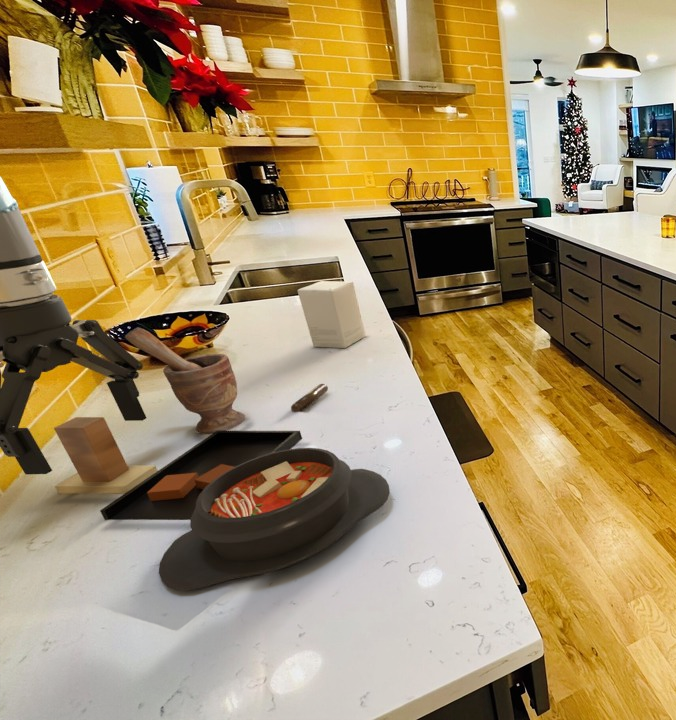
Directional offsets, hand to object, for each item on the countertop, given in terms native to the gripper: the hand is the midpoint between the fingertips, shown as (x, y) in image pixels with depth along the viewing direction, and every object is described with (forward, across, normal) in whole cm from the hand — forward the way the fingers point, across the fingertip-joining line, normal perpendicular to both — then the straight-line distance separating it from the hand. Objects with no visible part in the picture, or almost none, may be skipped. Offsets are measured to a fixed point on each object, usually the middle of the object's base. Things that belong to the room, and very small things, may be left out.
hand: (91, 444), depth 71 cm
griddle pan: (+8, +12, -14) cm, 20 cm away
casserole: (+8, -9, -32) cm, 34 cm away
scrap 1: (+7, -2, -11) cm, 13 cm away
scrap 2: (+7, 0, -16) cm, 18 cm away
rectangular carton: (+8, +60, -1) cm, 61 cm away
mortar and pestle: (+8, +16, -2) cm, 18 cm away
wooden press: (+8, 0, 0) cm, 8 cm away
